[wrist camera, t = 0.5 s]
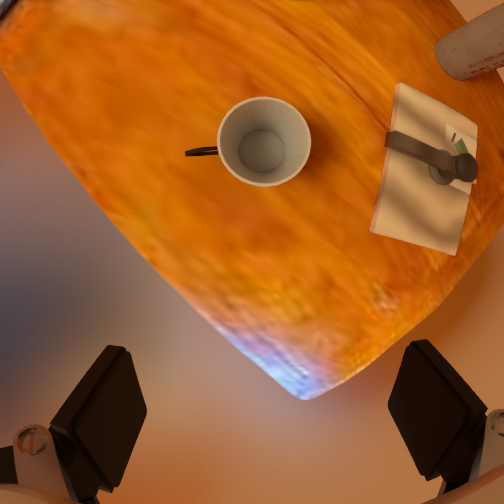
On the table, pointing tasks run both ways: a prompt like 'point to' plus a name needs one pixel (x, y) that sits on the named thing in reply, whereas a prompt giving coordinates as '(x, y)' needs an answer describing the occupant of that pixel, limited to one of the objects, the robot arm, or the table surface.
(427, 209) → the beige flat slab
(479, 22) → the thermos bottle
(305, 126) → the coffee mug
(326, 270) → the table surface
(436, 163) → the grey door handle
